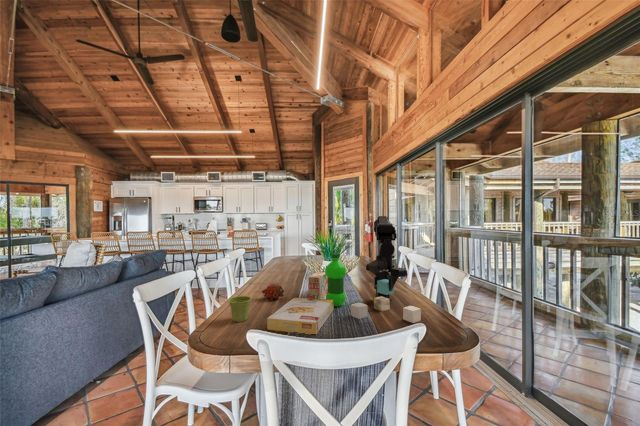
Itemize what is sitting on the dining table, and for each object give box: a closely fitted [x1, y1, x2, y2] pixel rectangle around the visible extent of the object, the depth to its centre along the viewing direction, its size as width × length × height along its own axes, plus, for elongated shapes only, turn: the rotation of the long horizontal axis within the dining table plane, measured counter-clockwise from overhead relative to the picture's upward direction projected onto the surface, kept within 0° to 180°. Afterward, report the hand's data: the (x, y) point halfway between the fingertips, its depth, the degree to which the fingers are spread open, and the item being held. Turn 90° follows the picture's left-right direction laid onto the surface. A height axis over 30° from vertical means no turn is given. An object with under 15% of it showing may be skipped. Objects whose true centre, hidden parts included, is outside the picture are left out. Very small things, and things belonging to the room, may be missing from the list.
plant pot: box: [228, 295, 252, 323], centre depth 121 cm, size 9×9×9 cm
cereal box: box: [266, 297, 335, 335], centre depth 121 cm, size 20×6×28 cm
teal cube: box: [376, 279, 395, 295], centre depth 122 cm, size 5×5×5 cm
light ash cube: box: [373, 296, 391, 312], centre depth 133 cm, size 5×5×5 cm
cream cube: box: [402, 305, 422, 324], centre depth 119 cm, size 5×5×5 cm
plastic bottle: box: [324, 252, 347, 307], centre depth 139 cm, size 10×10×25 cm
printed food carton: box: [307, 271, 328, 299], centre depth 157 cm, size 21×6×12 cm, turn 161°
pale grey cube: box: [350, 301, 368, 320], centre depth 124 cm, size 5×5×5 cm
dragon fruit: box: [261, 283, 285, 301], centre depth 150 cm, size 8×8×12 cm
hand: (385, 289), depth 122 cm, fingers closed on teal cube, 5 cm apart
